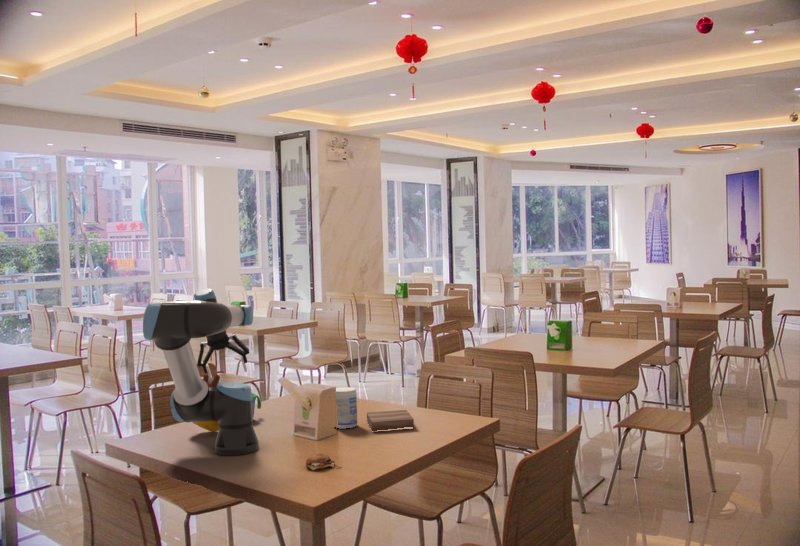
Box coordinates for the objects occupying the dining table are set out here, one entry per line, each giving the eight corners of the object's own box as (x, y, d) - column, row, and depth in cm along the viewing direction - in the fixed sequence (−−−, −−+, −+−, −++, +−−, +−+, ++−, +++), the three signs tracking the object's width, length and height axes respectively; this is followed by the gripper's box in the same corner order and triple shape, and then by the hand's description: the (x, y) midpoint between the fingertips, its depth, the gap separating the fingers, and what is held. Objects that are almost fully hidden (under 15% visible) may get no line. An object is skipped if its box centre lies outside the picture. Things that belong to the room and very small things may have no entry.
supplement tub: (355, 429, 265) (354, 391, 265) (331, 429, 266) (330, 391, 265) (359, 423, 275) (357, 386, 274) (335, 423, 275) (334, 387, 275)
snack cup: (231, 425, 277) (230, 400, 277) (221, 421, 286) (220, 396, 286) (267, 419, 287) (266, 394, 286) (256, 414, 295) (255, 391, 295)
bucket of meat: (197, 420, 276) (221, 374, 280) (230, 438, 271) (254, 391, 275) (172, 413, 257) (198, 365, 261) (207, 432, 252) (233, 383, 256)
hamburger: (310, 477, 211) (309, 457, 211) (297, 465, 224) (297, 446, 223) (353, 470, 216) (352, 451, 216) (339, 459, 229) (338, 441, 229)
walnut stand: (413, 429, 262) (413, 419, 262) (372, 432, 260) (371, 421, 260) (406, 419, 278) (406, 409, 278) (367, 422, 276) (366, 412, 276)
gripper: (246, 315, 270) (259, 362, 278) (181, 331, 266) (197, 378, 274) (246, 323, 263) (260, 370, 271) (180, 340, 259) (196, 387, 267)
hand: (228, 374), depth 273 cm, fingers open, 13 cm apart
